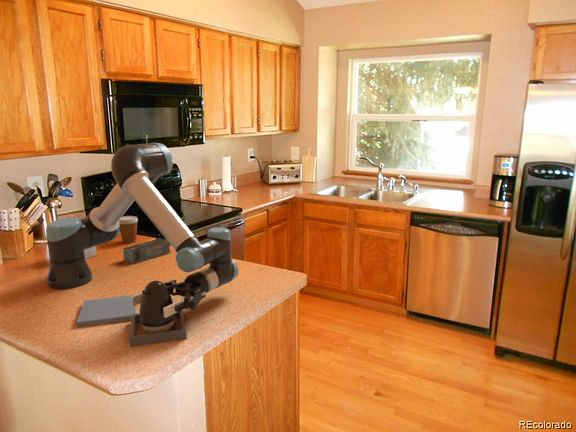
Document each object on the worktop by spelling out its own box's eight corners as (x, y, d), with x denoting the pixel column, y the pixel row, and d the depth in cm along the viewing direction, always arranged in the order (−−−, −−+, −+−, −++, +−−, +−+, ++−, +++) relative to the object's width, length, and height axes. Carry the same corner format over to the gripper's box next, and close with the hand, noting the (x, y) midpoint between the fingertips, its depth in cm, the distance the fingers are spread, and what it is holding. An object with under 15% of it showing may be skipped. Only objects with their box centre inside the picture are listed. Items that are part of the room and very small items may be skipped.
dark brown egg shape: (132, 335, 124) (127, 285, 121) (155, 319, 134) (151, 272, 130) (161, 341, 121) (158, 290, 117) (183, 325, 130) (180, 277, 126)
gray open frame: (130, 346, 118) (129, 338, 117) (132, 322, 132) (131, 314, 131) (186, 338, 122) (186, 330, 122) (182, 315, 136) (182, 307, 136)
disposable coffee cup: (135, 244, 209) (133, 220, 206) (116, 244, 209) (113, 220, 206) (142, 238, 218) (140, 215, 216) (123, 238, 218) (121, 215, 216)
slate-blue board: (77, 327, 129) (76, 322, 128) (84, 304, 144) (84, 300, 143) (134, 319, 133) (133, 315, 133) (135, 298, 148) (135, 294, 148)
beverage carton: (123, 261, 187) (121, 246, 185) (160, 250, 201) (159, 236, 200) (133, 264, 182) (132, 249, 180) (171, 253, 197) (170, 239, 195)
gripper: (231, 302, 134) (180, 330, 117) (174, 285, 147) (120, 308, 130) (230, 279, 132) (178, 305, 115) (173, 264, 146) (118, 285, 128)
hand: (147, 307), depth 122 cm, fingers open, 13 cm apart
